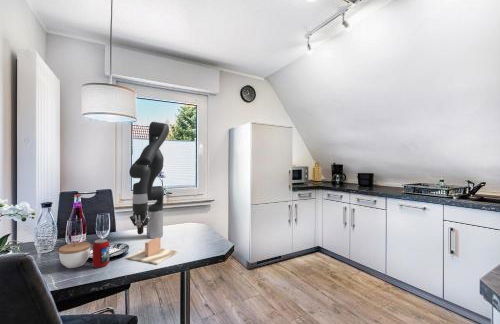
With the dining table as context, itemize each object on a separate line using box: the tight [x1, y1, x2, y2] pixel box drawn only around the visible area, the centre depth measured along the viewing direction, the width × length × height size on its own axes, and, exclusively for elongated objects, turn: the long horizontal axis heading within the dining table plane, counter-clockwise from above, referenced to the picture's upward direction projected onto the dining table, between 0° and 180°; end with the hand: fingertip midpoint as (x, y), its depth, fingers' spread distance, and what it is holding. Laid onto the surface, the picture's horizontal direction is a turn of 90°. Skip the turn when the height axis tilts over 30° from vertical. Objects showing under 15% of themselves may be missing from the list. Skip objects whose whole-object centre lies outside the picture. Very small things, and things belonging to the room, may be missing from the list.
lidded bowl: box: [58, 241, 92, 269], centre depth 117 cm, size 13×13×11 cm
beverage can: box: [92, 238, 110, 268], centre depth 116 cm, size 7×7×12 cm
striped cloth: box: [125, 247, 179, 266], centre depth 128 cm, size 20×16×1 cm
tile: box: [144, 237, 161, 257], centre depth 130 cm, size 9×2×7 cm, turn 160°
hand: (140, 233), depth 131 cm, fingers closed
